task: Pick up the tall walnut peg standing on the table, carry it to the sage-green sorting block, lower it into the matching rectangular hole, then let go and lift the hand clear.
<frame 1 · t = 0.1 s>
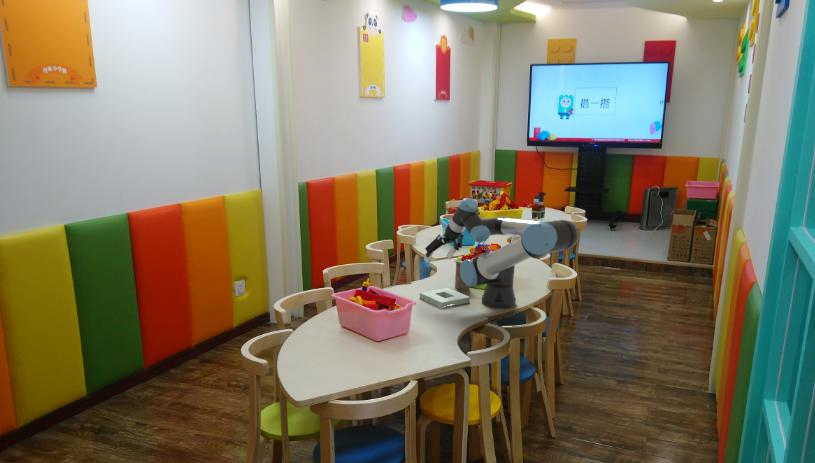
hand: (437, 259, 270), 15 cm above the table, tool tilted 35°, fingers open, 13 cm apart
walnut peg: (462, 288, 278), on the table
puzzle cube: (466, 278, 296), on the table
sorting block: (444, 300, 259), on the table
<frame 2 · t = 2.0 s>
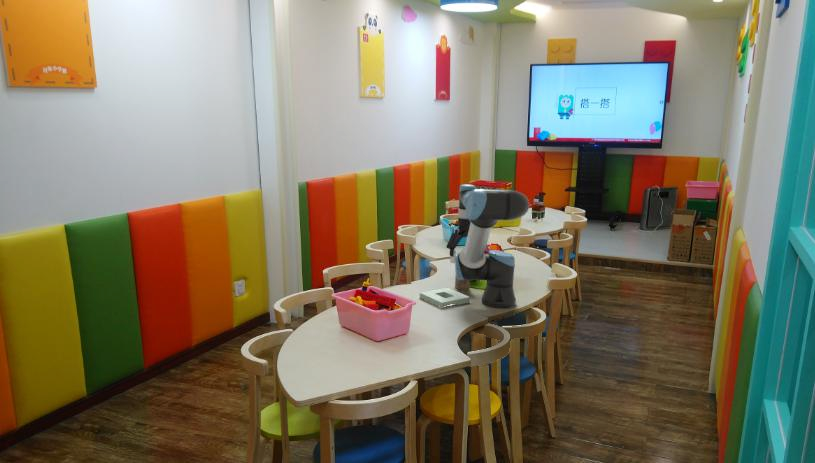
hand: (463, 261, 276), 13 cm above the table, tool pointing down, fingers open, 13 cm apart
nothing on the table moved.
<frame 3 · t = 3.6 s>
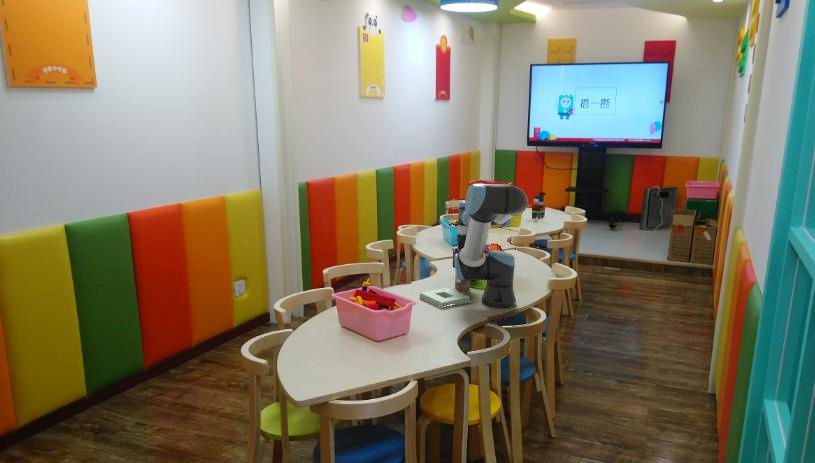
hand: (462, 281, 277), 4 cm above the table, tool pointing down, fingers closed on walnut peg, 4 cm apart
walnut peg: (462, 288, 278), on the table, touching gripper
everything else where it was.
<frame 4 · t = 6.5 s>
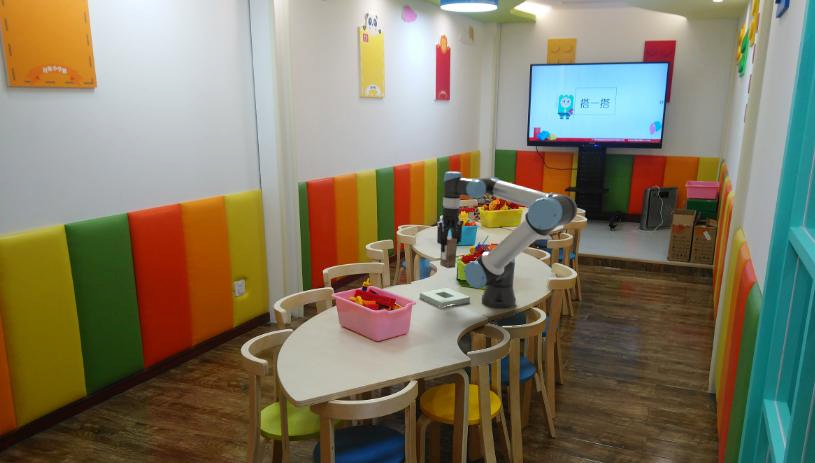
hand: (448, 258, 258), 19 cm above the table, tool pointing down, fingers closed on walnut peg, 4 cm apart
walnut peg: (447, 266, 259), point 15 cm above the table, touching gripper
everything else where it was.
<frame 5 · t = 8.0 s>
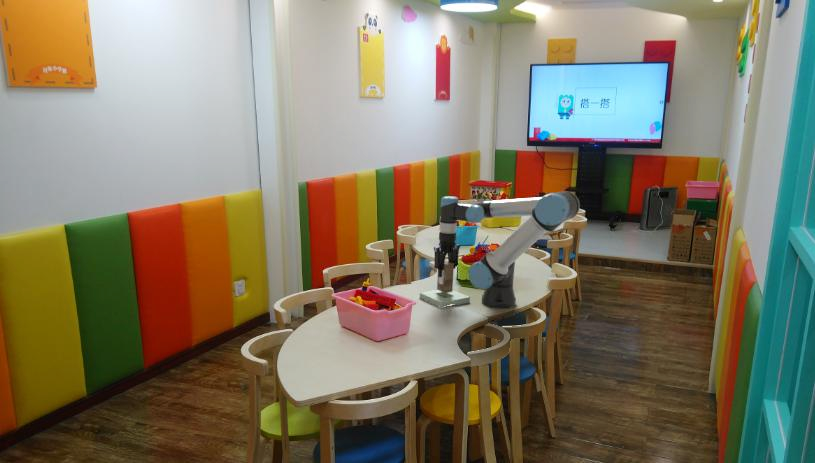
hand: (445, 282, 257), 8 cm above the table, tool pointing down, fingers closed on walnut peg, 4 cm apart
walnut peg: (444, 290, 258), point 4 cm above the table, touching gripper
everything else where it was.
when the fingers open (4 cm above the table, at t = 9.4 s): walnut peg stays where it is, resting in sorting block.
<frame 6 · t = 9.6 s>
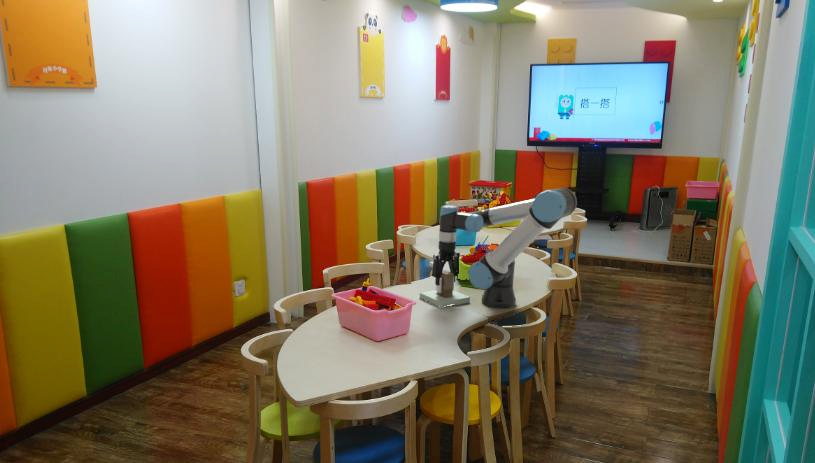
hand: (444, 290, 258), 4 cm above the table, tool pointing down, fingers open, 7 cm apart
walnut peg: (444, 300, 259), resting in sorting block
everything else where it was.
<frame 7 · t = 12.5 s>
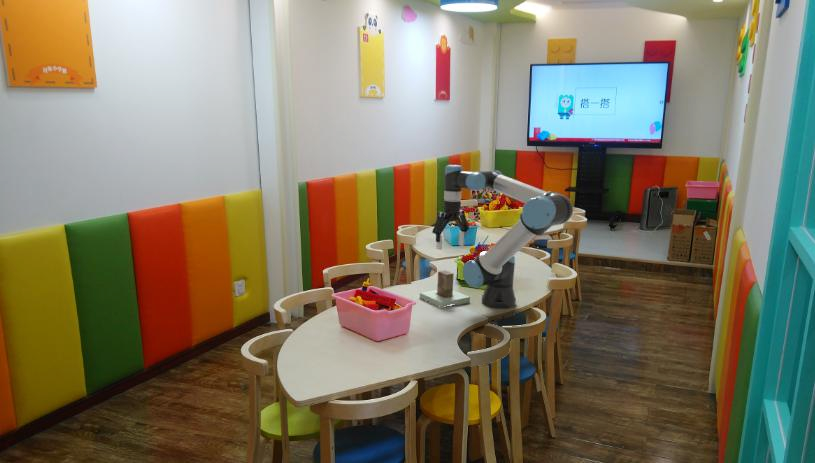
hand: (450, 247, 258), 24 cm above the table, tool pointing down, fingers open, 13 cm apart
nothing on the table moved.
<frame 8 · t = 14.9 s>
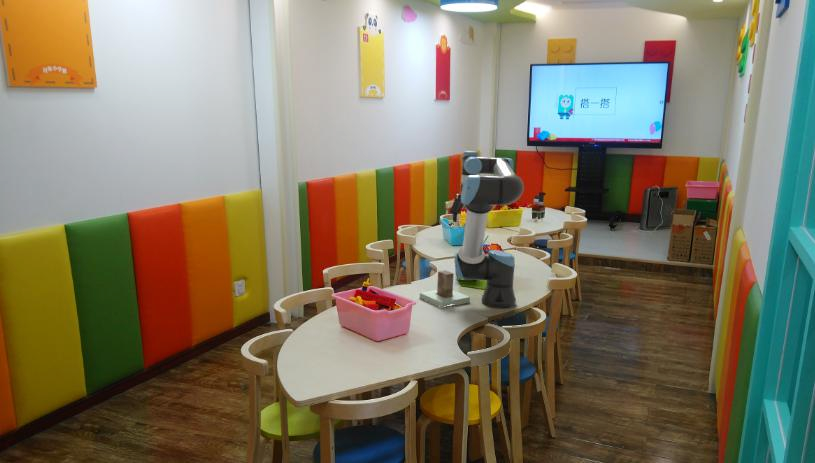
hand: (466, 227, 279), 29 cm above the table, tool pointing down, fingers open, 13 cm apart
nothing on the table moved.
at the end: walnut peg 0.1 cm off-centre on the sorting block, point 0.0 cm above the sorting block's base; walnut peg tilted 0°; the gripper is holding nothing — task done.
